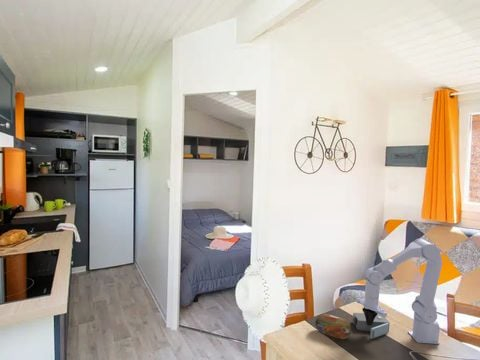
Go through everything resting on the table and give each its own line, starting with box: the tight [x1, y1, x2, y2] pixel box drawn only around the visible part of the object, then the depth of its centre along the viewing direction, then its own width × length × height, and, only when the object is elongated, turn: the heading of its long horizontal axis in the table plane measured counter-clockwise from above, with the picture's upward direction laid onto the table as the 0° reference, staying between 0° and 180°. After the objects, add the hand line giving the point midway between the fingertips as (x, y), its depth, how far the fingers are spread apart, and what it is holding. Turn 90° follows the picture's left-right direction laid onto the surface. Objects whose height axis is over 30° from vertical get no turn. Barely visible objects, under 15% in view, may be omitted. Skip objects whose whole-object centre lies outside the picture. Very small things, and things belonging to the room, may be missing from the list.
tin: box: [315, 313, 352, 340], centre depth 128 cm, size 15×3×8 cm, turn 62°
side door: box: [369, 323, 390, 339], centre depth 129 cm, size 11×1×4 cm, turn 118°
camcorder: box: [351, 312, 391, 333], centre depth 136 cm, size 15×7×5 cm, turn 88°
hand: (369, 324), depth 131 cm, fingers closed
